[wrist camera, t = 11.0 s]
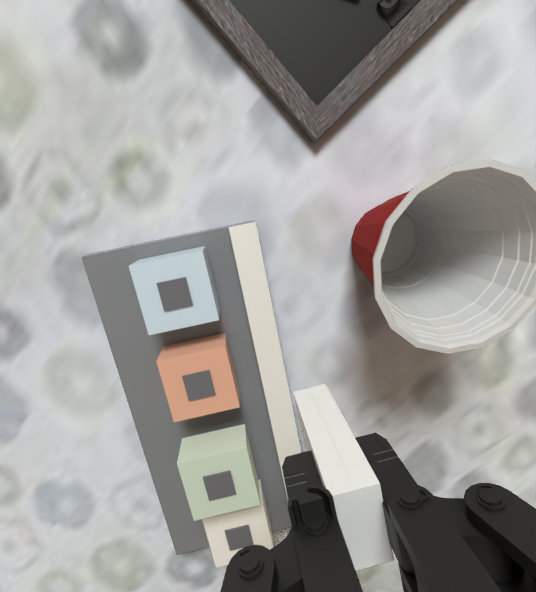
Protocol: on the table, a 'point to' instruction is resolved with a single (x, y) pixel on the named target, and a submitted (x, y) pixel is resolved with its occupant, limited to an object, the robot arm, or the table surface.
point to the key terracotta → (198, 377)
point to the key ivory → (238, 531)
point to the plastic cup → (454, 256)
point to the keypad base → (233, 321)
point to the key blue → (175, 290)
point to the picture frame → (320, 47)
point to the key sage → (218, 472)
